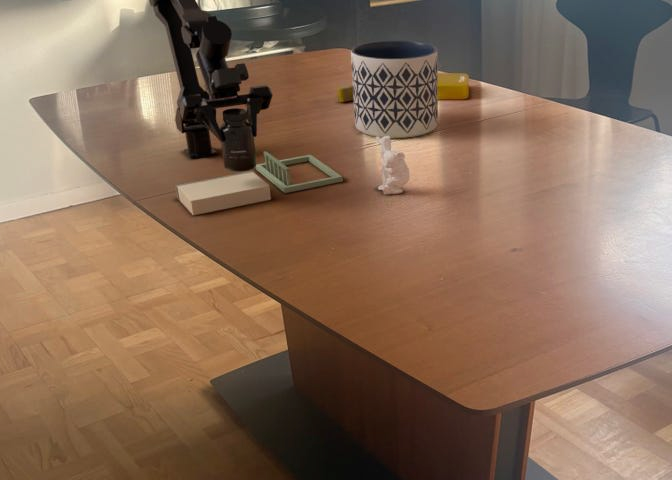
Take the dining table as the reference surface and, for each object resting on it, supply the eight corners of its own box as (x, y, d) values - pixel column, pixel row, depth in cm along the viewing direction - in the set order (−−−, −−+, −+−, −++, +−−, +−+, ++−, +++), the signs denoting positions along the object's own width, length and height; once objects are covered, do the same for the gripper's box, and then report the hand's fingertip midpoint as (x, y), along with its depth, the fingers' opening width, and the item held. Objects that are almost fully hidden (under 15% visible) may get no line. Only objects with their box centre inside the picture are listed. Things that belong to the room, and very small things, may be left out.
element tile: (468, 99, 248) (468, 83, 246) (418, 99, 248) (418, 83, 246) (468, 87, 261) (468, 71, 259) (420, 87, 261) (420, 71, 259)
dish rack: (255, 169, 196) (253, 150, 194) (310, 159, 202) (309, 140, 200) (284, 193, 183) (282, 173, 181) (342, 181, 189) (341, 161, 187)
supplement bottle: (237, 175, 174) (229, 118, 167) (218, 167, 178) (209, 111, 171) (263, 166, 178) (257, 111, 172) (244, 159, 182) (237, 104, 176)
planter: (340, 133, 220) (334, 54, 209) (377, 111, 238) (374, 37, 227) (417, 143, 213) (416, 62, 202) (450, 120, 230) (450, 44, 220)
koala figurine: (368, 189, 185) (365, 136, 179) (393, 183, 188) (391, 130, 182) (390, 200, 179) (388, 146, 173) (415, 193, 183) (414, 140, 176)
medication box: (368, 95, 253) (367, 81, 252) (374, 95, 252) (373, 82, 250) (337, 101, 246) (336, 87, 244) (343, 102, 244) (341, 88, 242)
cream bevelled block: (177, 199, 180) (174, 185, 178) (254, 184, 188) (252, 170, 186) (192, 215, 172) (189, 201, 170) (271, 199, 180) (270, 185, 178)
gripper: (173, 55, 164) (198, 125, 162) (264, 45, 172) (288, 112, 170) (170, 86, 174) (193, 153, 172) (256, 75, 182) (279, 139, 180)
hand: (239, 138), depth 173 cm, fingers closed on supplement bottle, 7 cm apart
